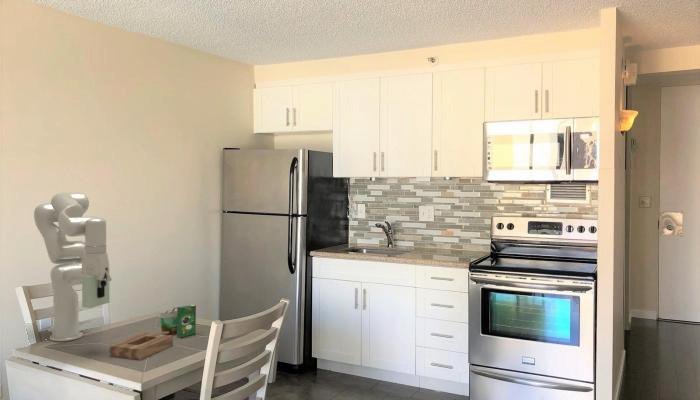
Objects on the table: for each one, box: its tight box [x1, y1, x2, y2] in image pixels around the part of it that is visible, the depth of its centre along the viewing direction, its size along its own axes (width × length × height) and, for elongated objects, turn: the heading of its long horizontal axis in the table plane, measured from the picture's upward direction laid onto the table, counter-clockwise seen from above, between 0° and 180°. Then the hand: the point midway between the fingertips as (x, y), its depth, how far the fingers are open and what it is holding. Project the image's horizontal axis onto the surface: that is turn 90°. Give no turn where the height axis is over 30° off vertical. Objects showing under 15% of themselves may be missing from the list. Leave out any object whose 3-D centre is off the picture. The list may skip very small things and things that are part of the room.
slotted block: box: [109, 332, 174, 361], centre depth 225 cm, size 14×20×4 cm
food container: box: [159, 306, 178, 336], centre depth 251 cm, size 12×6×10 cm, turn 168°
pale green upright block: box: [81, 275, 110, 309], centre depth 222 cm, size 4×10×12 cm, turn 162°
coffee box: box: [176, 304, 197, 339], centre depth 247 cm, size 8×3×13 cm, turn 139°
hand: (96, 296), depth 222 cm, fingers closed on pale green upright block, 4 cm apart
